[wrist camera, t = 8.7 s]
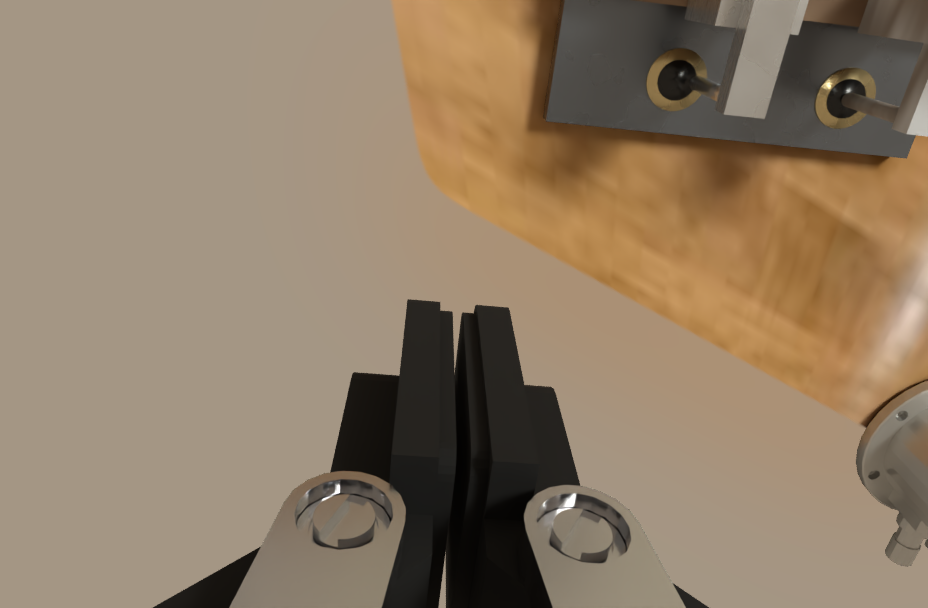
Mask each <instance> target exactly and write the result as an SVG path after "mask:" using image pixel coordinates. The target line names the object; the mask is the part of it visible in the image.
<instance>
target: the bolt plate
mask: <svg viewBox="0 0 928 608" xmlns="http://www.w3.org/2000/svg"><path fill="white" fill-rule="evenodd" d="M686 9H687V7H685V6H677V5H668V4H660V3H651V2H642V1H634V0H561V5H560V11H559V18H558V24H557V30H556V37H555V43H554V50H553V56H552V63H551V69H550V76H549V82H548V89H547V95H546V102H545V108H544V115H543V118H544V119H545V121H548V122H558V123H568V124H578V125H587V126H597V127H607V128H616V129H626V130H636V131H646V132H655V133H665V134H675V135H684V136H694V137H704V138H713V139H723V140H733V141H743V142H752V143H762V144H772V145H781V146H791V147H801V148H811V149H820V150H830V151H840V152H849V153H859V154H869V155H878V156H888V157H898V158H907V156H908V153H909V151H910V148H911V146H912V143H913V141H914V138H915V136H916V135H910V134H904V133H902V132H899V131H896V130H893V129H891V128H892V126H893V123H892V122H889V121H886V120H883V119H880V118H877V117H874V116H871V115H868V114H865V113H862V112H859V111H856V110H854V109H851V108H848V107H845V106H843V105H842V102H841V101H842V98H843V96H844V95H845V94H847V93H850V92H851V93H855V94H858V95H861V96H865V97H868V98H872V99H875V100H878V101H882V102H885V103H888V104H892V105H895V106H898V107H900V105H901V102H902V99H903V97H904V94H905V92H906V89H907V86H908V84H909V81H910V78H911V76H912V73H913V71H914V68H915V65H916V63H917V60H918V57H919V55H920V52H921V49H922V47H923V44H924V43H920V42H914V41H907V40H900V39H894V38H887V37H880V36H874V35H867V34H860V33H857V32H858V29H859V27H855V26H847V25H838V24H830V23H821V22H813V21H804V20H803V21H802V24H801V28H800V31H799V34H798V35H792V34H790V35H789V38H788V42H787V45H786V49H785V52H784V55H783V59H782V62H781V65H780V69H779V72H778V76H777V79H776V82H775V86H774V89H773V92H772V96H771V99H770V103H769V106H768V109H767V113H766V116H765V119H761V118H752V117H742V116H733V115H724V114H722V113H720V112H718V111H716V110H714V109H715V106H716V102H717V101H714V100H712V99H710V98H708V97H706V96H704V95H702V94H700V93H698V92H696V91H694V90H692V89H691V88H690V85H689V84H690V81H691V79H692V78H693V77H695V76H701V77H703V78H705V79H708V80H710V81H713V82H715V83H718V84H720V85H721V83H722V79H723V75H724V71H725V68H726V64H727V60H728V56H729V52H730V49H731V45H732V41H733V37H734V33H735V30H736V28H732V27H723V26H715V25H710V24H705V23H700V22H695V21H690V20H685V19H684V18H685V14H686Z"/></svg>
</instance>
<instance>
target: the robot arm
mask: <svg viewBox="0 0 928 608" xmlns="http://www.w3.org/2000/svg"><path fill="white" fill-rule="evenodd" d="M453 347H454V345H453V314H452V312H450V311H440V302H433V301H432V302H431V301H421V300H408V301H407V310H406V320H405V329H404V339H403V348H402V358H401V367H400V376H396V375H383V374H368V373H356V372H354V373H353V374H352V378H351V382H350V387H349V391H348V396H347V400H346V405H345V409H344V413H343V418H342V422H341V427H340V432H339V436H338V440H337V445H336V449H335V454H334V458H333V463H332V467H331V472H330V473H324V474H322V475H319V476H316V477H314V478H311V479H308V480H307V481H305V482H304V483H303V484H301V485H300V486H298V487H297V488H295V489H294V490H293V491H292V492H291V494H290V495H289V496H288V498H287V499H286V500H285V502H284V503H283V505H282V507H281V509H280V511H279V513H278V515H277V517H276V519H275V521H274V523H273V524H272V526H271V528H270V531H269V532H268V534H267V536H266V538H265V540H264V542H263V544H262V546H261V547H259V548H258V549H256V550H254V551H252V552H251V553H249V554H247V555H245V556H243V557H242V558H240V559H238V560H236V561H235V562H233V563H231V564H229V565H227V566H226V567H224V568H222V569H220V570H219V571H217V572H215V573H213V574H212V575H210V576H208V577H206V578H204V579H203V580H201V581H199V582H197V583H196V584H194V585H192V586H190V587H189V588H187V589H185V590H183V591H181V592H180V593H178V594H176V595H174V596H173V597H171V598H169V599H167V600H165V601H164V602H162V603H160V604H158V605H157V606H155V607H153V608H438V606H439V597H440V590H441V582H442V574H443V566H444V558H445V551H446V608H709V607H707V606H706V605H704V604H703V603H701V602H700V601H698V600H697V599H695V598H694V597H692V596H691V595H689V594H688V593H686V592H685V591H683V590H682V589H680V588H679V587H678V586H676V585H675V584H673V583H672V582H671V580H670V578H669V576H668V574H667V572H666V571H665V569H664V567H663V565H662V563H661V562H660V560H659V558H658V556H657V554H656V552H655V551H654V549H653V547H652V545H651V543H650V542H649V540H648V538H647V536H646V534H645V532H644V531H643V529H642V527H641V525H640V523H639V522H638V521H637V519H636V518H635V517H634V515H633V514H632V513H631V511H630V510H629V509H627V508H626V507H625V506H624V505H623V504H621V503H620V502H619V501H618V500H616V499H615V498H613V497H611V496H609V495H607V494H605V493H603V492H601V491H598V490H595V489H591V488H587V487H583V486H580V483H579V479H578V475H577V472H576V468H575V464H574V461H573V457H572V453H571V449H570V446H569V442H568V438H567V434H566V431H565V427H564V423H563V419H562V416H561V412H560V408H559V405H558V401H557V397H556V394H555V391H554V389H553V388H552V387H544V386H530V385H524V381H523V376H522V371H521V366H520V361H519V356H518V351H517V346H516V341H515V336H514V331H513V326H512V321H511V316H510V311H509V308H504V307H494V306H482V305H476V306H475V310H474V313H462V317H461V324H460V334H459V341H458V350H457V359H456V367H455V375H454V348H453ZM856 458H857V459H856V465H857V472H858V475H859V477H860V479H861V481H862V484H863V485H864V486H865V487H866V488H867V490H868V491H869V492H870V494H871V495H872V496H873V497H875V498H876V499H877V500H878V501H879V502H880V503H882V504H884V505H886V506H888V507H890V508H892V509H895V510H898V511H899V514H898V516H897V520H896V521H897V523H898V525H899V528H898V530H897V532H895V533H894V534H893V536H892V538H891V540H890V542H889V544H888V545H887V547H886V549H885V553H886V555H887V557H888V558H889V559H890V560H891V561H893V562H894V563H896V564H898V565H901V566H907V567H908V566H911V565H912V563H913V561H914V559H915V558H916V555H917V554H918V552H919V550H920V547H921V543H922V541H923V539H927V540H926V542H925V546H926V547H927V548H928V381H925V382H922V383H920V384H918V385H916V386H914V387H912V388H910V389H908V390H906V391H905V392H903V393H902V394H900V395H899V396H897V397H896V398H895V399H893V400H892V401H890V402H889V403H888V404H887V405H886V406H885V407H884V408H883V409H882V410H881V411H879V413H878V414H877V415H876V416H875V417H874V419H873V420H872V421H871V422H870V424H869V425H868V427H867V428H866V430H865V432H864V434H863V436H862V437H861V440H860V443H859V446H858V449H857V457H856Z"/></svg>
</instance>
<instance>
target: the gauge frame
mask: <svg viewBox="0 0 928 608" xmlns="http://www.w3.org/2000/svg"><path fill="white" fill-rule="evenodd" d="M634 1H642V2H651V3H660V4H668V5H677V6H685V7H687V5H688V1H689V0H634ZM803 20H804V21H813V22H821V23H830V24H838V25H847V26H855V27H859V29H858V32H857V33H860V34H867V35H874V36H880V37H887V38H894V39H900V40H907V41H914V42H920V43H924V44H923V47H922V49H921V52H920V55H919V57H918V60H917V63H916V65H915V68H914V71H913V73H912V76H911V78H910V81H909V84H908V86H907V89H906V92H905V94H904V97H903V99H902V102H901V105H900V107H898V106H895V105H892V104H888V103H885V102H882V101H878V100H875V99H872V98H868V97H865V96H861V95H858V94H855V93H851V92H850V93H847V94H845V95H844V96H843V98H842V101H841V102H842V105H843V106H845V107H848V108H851V109H854V110H856V111H859V112H862V113H865V114H868V115H871V116H874V117H877V118H880V119H883V120H886V121H889V122H892V123H893V126H892V128H891V129H893V130H896V131H899V132H902V133H904V134H910V135H919V136H928V0H809V1H808V5H807V8H806V11H805V15H804V18H803Z"/></svg>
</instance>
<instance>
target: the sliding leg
mask: <svg viewBox="0 0 928 608" xmlns="http://www.w3.org/2000/svg"><path fill="white" fill-rule="evenodd" d="M808 1H809V0H689V1H688V5H687V9H686V14H685V18H684V19H685V20H690V21H695V22H700V23H705V24H710V25H715V26H723V27H732V28H736V30H735V33H734V37H733V41H732V45H731V49H730V52H729V56H728V60H727V64H726V68H725V71H724V75H723V79H722V83H721V85H720V84H718V83H715V82H713V81H710V80H708V79H705V78H703V77H701V76H695V77H693V78H692V79H691V81H690V84H689V85H690V88H691V89H692V90H694V91H696V92H698V93H700V94H702V95H704V96H706V97H708V98H710V99H712V100H714V101H717V102H716V106H715V109H714V110H716V111H718V112H720V113H722V114H724V115H733V116H742V117H752V118H761V119H765V116H766V113H767V109H768V106H769V103H770V99H771V96H772V92H773V89H774V86H775V82H776V79H777V76H778V72H779V69H780V65H781V62H782V59H783V55H784V52H785V49H786V45H787V42H788V38H789V35H790V34H792V35H798V34H799V31H800V28H801V24H802V21H803V18H804V15H805V11H806V8H807V5H808Z"/></svg>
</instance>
